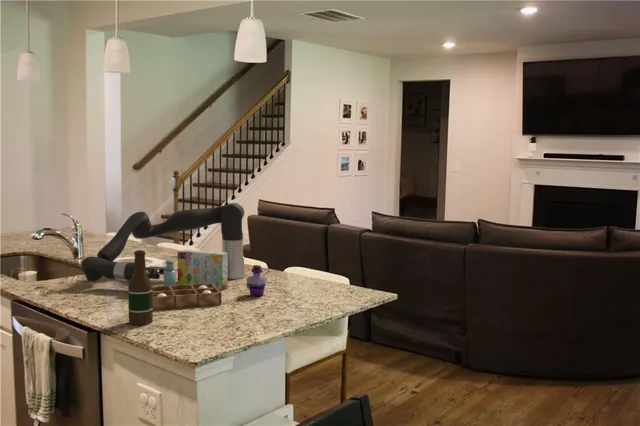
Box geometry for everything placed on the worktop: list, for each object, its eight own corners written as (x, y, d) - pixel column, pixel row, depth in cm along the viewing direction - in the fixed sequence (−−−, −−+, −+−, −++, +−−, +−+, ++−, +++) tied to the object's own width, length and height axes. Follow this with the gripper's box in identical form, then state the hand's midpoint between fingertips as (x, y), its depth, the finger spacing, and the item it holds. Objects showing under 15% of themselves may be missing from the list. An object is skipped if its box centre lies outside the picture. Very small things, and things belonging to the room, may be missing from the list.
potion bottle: (243, 293, 239) (243, 264, 238) (263, 291, 243) (264, 262, 241) (249, 298, 231) (249, 268, 230) (270, 296, 235) (270, 266, 234)
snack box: (228, 288, 249) (228, 252, 247) (221, 291, 243) (221, 254, 242) (183, 283, 255) (183, 248, 254) (176, 286, 250) (176, 250, 248)
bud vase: (175, 291, 241) (175, 259, 240) (177, 294, 236) (176, 261, 235) (163, 292, 239) (162, 259, 238) (164, 295, 235) (164, 262, 233)
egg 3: (211, 299, 227) (211, 288, 226) (213, 301, 223) (213, 291, 222) (200, 299, 225) (200, 289, 225) (202, 302, 221) (202, 291, 221)
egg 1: (166, 302, 221) (166, 291, 220) (168, 305, 217) (168, 294, 217) (155, 303, 219) (155, 292, 219) (156, 305, 216) (156, 294, 215)
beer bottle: (131, 319, 201) (130, 248, 199) (155, 319, 202) (154, 248, 199) (125, 326, 193) (124, 252, 191) (150, 326, 194) (149, 253, 191)
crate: (212, 294, 237) (212, 282, 237) (221, 304, 221) (221, 292, 221) (146, 298, 228) (146, 286, 228) (150, 310, 212) (150, 297, 212)
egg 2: (207, 294, 234) (207, 284, 234) (209, 296, 230) (209, 286, 230) (197, 294, 233) (197, 284, 232) (198, 297, 229) (198, 286, 229)
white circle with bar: (171, 267, 290) (170, 257, 289) (149, 280, 262) (148, 269, 262) (115, 265, 292) (115, 255, 292) (87, 277, 265) (87, 267, 264)
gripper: (118, 265, 234) (155, 268, 230) (137, 259, 248) (173, 261, 244) (118, 284, 235) (155, 287, 231) (137, 277, 249) (173, 279, 245)
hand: (164, 274), depth 238 cm, fingers open, 8 cm apart
